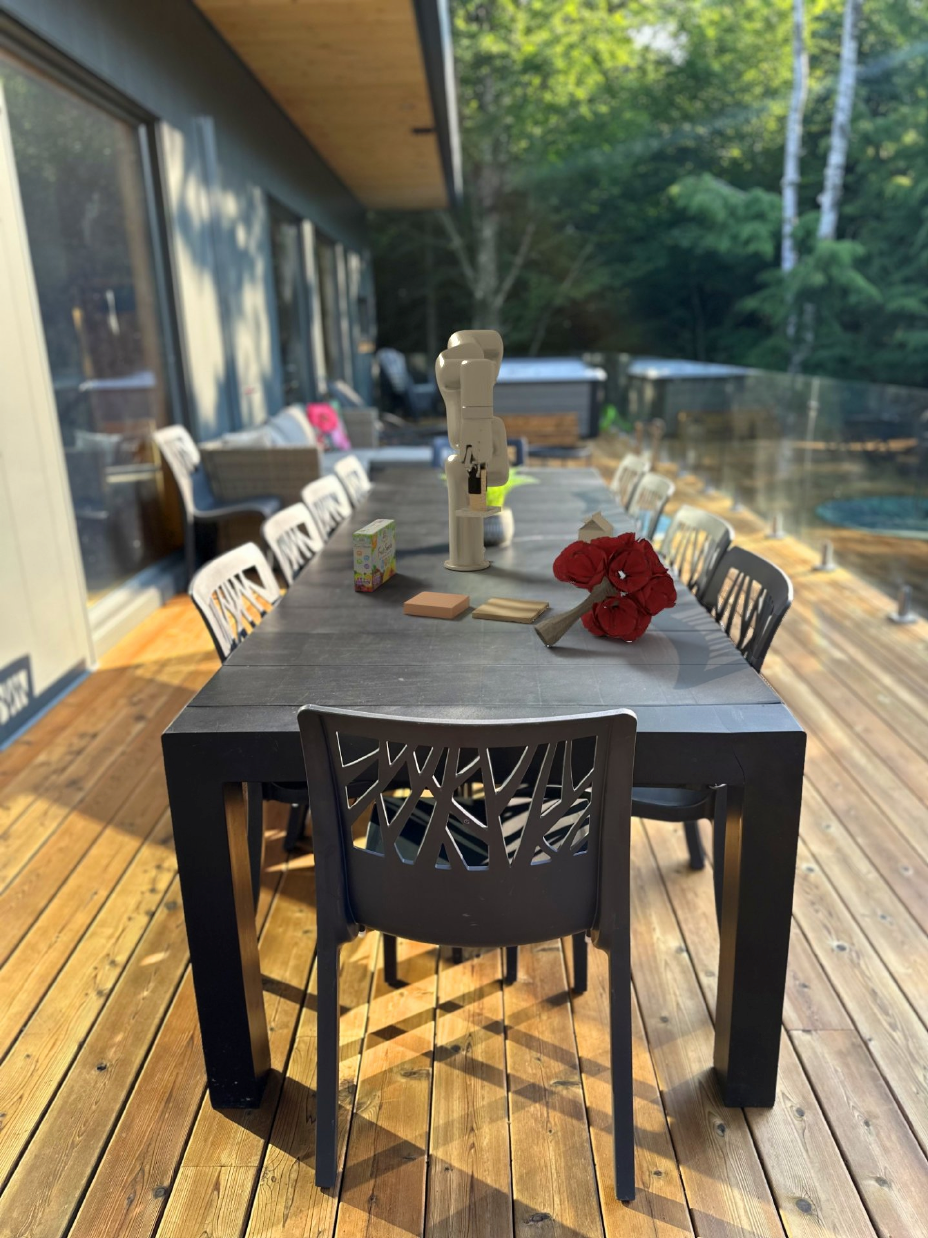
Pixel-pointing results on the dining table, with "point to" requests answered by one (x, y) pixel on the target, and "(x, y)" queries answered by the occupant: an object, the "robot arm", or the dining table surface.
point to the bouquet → (611, 588)
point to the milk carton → (595, 528)
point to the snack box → (374, 555)
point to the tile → (436, 604)
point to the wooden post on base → (479, 503)
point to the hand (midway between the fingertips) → (477, 492)
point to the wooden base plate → (510, 610)
